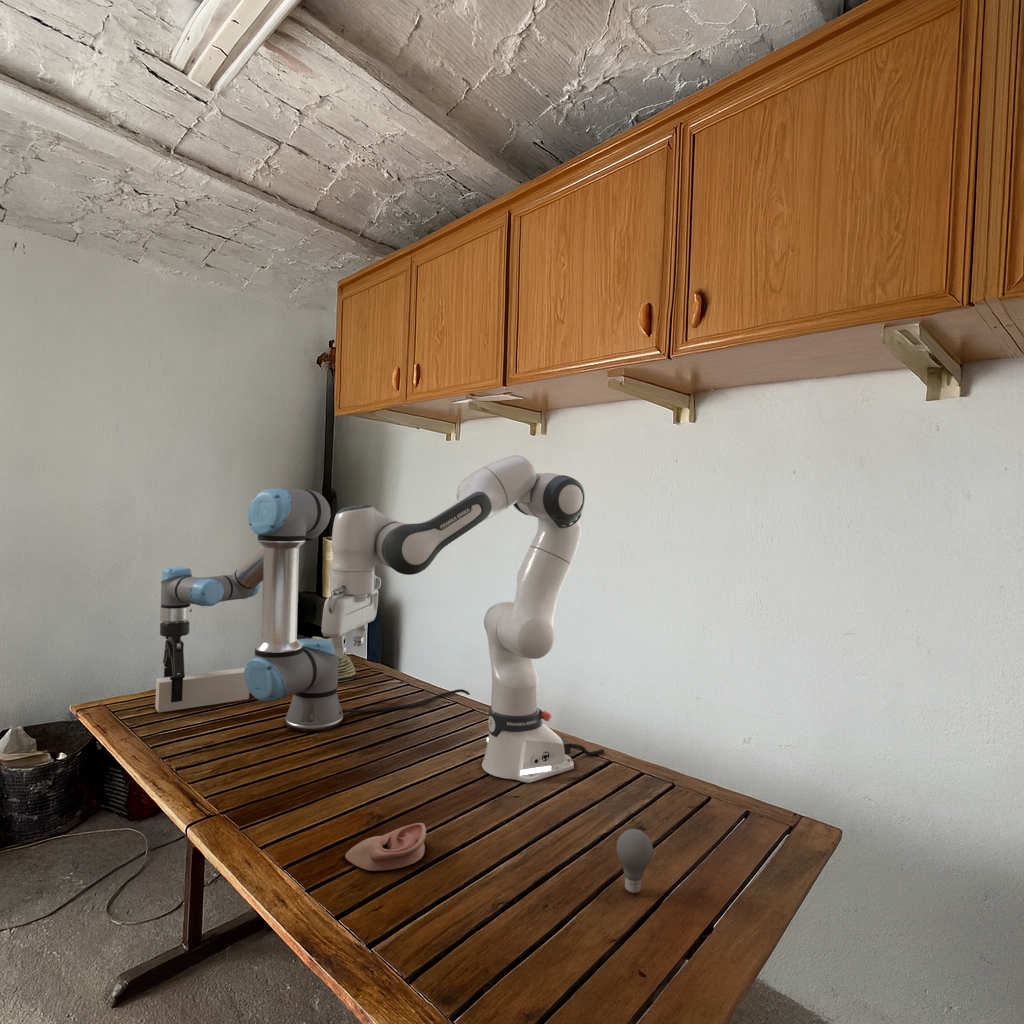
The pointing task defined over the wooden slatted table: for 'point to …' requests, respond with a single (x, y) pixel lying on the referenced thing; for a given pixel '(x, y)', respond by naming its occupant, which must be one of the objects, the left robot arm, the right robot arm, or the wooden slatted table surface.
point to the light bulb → (634, 857)
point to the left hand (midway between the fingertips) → (172, 695)
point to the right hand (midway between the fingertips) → (349, 650)
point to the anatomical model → (390, 849)
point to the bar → (203, 690)
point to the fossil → (343, 666)
